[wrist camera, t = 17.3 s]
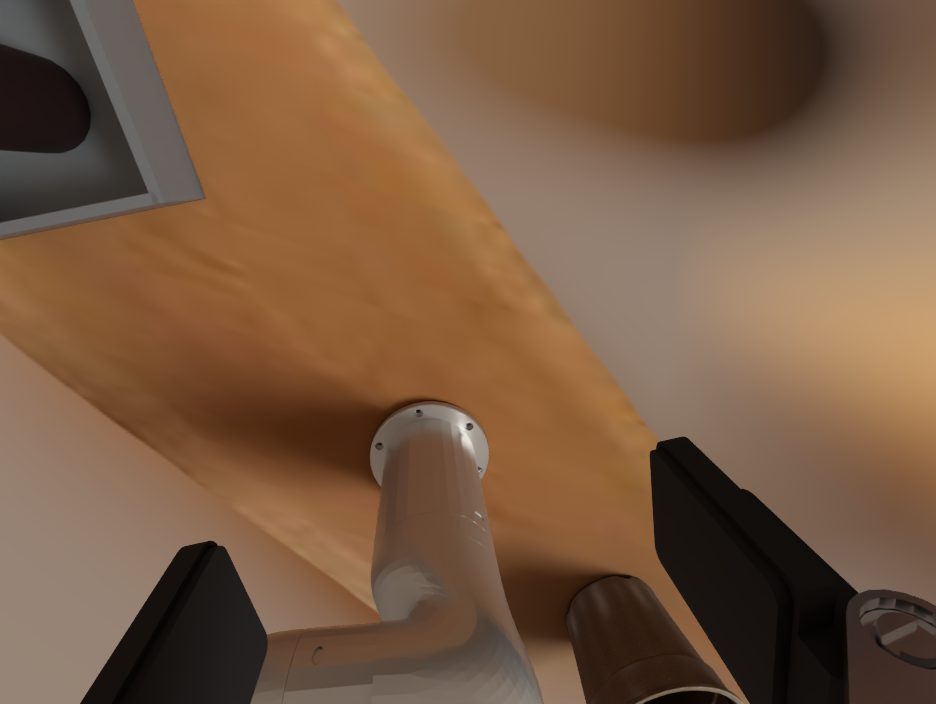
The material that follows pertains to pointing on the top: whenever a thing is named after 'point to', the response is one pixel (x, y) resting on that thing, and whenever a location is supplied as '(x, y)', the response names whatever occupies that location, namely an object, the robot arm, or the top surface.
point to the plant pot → (636, 649)
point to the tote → (95, 121)
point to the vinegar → (39, 105)
